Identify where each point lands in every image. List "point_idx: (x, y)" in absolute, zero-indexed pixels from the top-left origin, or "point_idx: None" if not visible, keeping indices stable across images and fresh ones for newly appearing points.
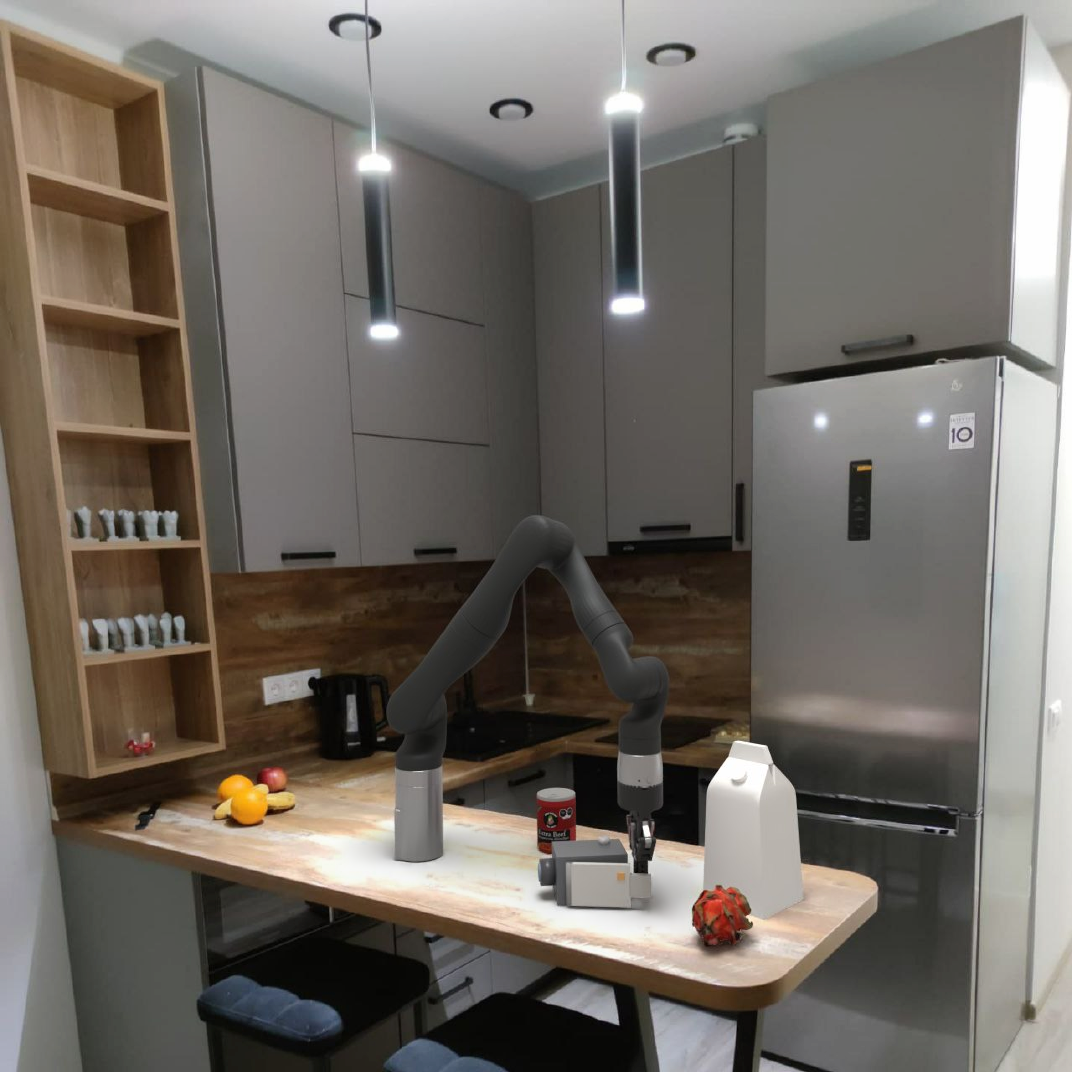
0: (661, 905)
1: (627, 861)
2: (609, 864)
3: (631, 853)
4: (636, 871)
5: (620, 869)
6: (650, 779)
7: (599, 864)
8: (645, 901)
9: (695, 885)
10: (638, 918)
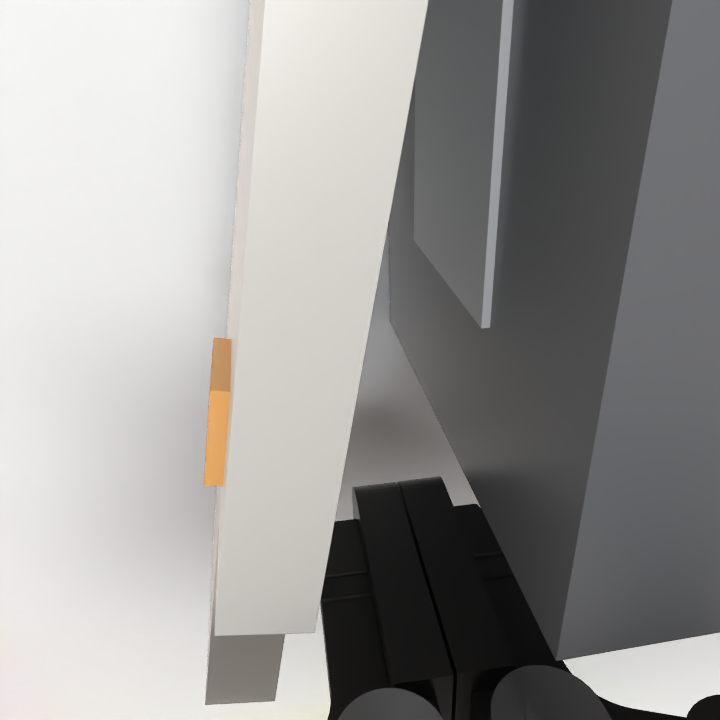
0: None
1: (510, 564)
2: (267, 331)
3: (567, 701)
4: (373, 577)
5: (226, 464)
6: None
7: (279, 101)
8: (397, 434)
9: (578, 675)
10: (71, 368)
